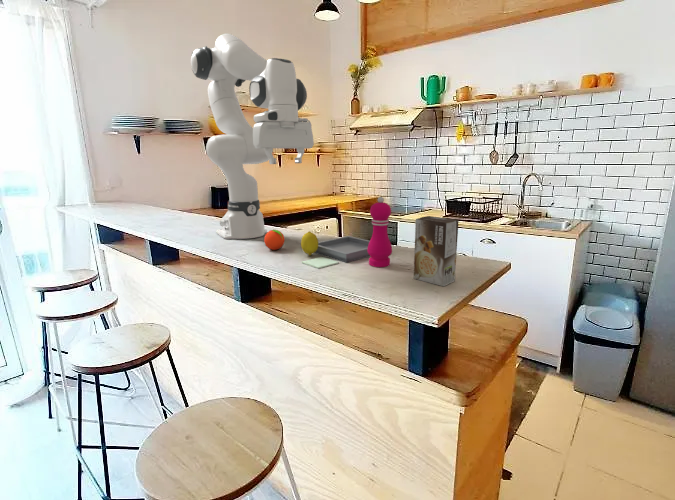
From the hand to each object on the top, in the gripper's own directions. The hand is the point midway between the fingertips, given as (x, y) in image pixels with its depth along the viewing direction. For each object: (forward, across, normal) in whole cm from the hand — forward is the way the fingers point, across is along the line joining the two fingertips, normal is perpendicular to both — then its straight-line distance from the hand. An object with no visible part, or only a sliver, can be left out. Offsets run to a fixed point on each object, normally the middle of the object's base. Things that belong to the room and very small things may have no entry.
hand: (285, 163), depth 117 cm
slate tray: (+29, -16, +11) cm, 35 cm away
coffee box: (+30, -13, +47) cm, 57 cm away
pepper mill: (+30, -13, +28) cm, 43 cm away
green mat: (+29, -1, +15) cm, 33 cm away
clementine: (+29, 0, -8) cm, 30 cm away
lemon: (+29, -4, +6) cm, 30 cm away
